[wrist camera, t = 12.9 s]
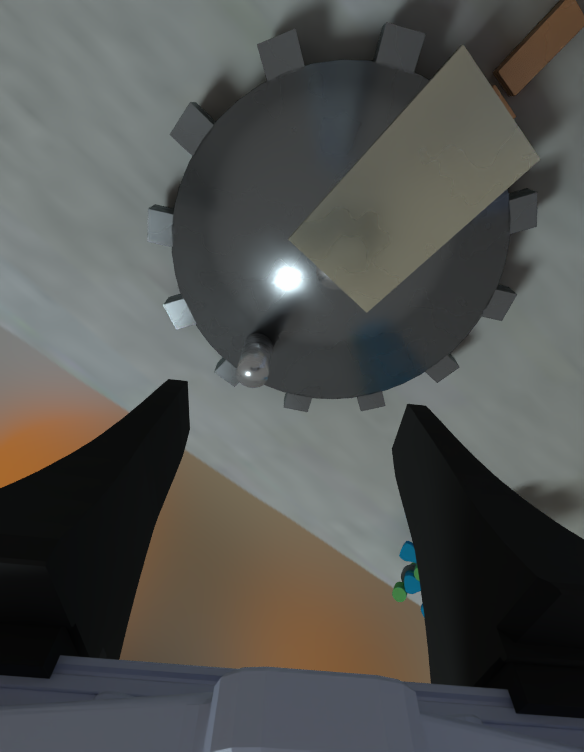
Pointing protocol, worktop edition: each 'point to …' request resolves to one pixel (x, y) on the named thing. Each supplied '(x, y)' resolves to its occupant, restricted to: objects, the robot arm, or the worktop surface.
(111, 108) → the worktop surface
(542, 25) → the brown flat bar
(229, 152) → the sprocket
